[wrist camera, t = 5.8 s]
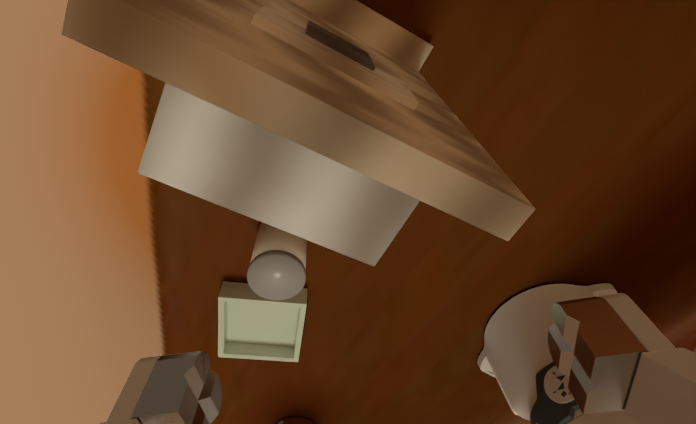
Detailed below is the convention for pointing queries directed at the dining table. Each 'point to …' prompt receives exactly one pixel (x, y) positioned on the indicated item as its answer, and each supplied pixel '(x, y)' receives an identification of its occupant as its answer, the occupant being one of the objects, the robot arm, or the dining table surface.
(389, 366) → the dining table surface
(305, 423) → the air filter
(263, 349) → the service tray
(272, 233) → the cartridge
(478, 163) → the plate
